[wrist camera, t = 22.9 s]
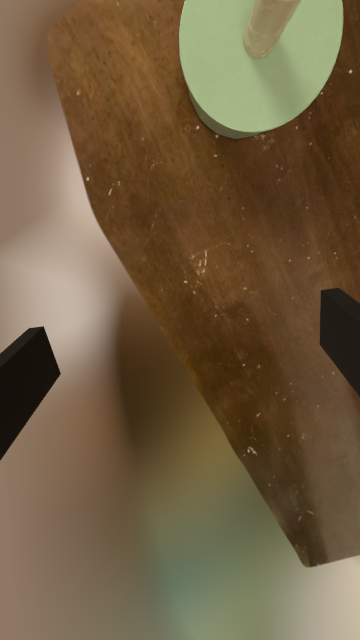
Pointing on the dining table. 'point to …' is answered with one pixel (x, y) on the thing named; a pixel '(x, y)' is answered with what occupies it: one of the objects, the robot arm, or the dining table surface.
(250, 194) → the dining table surface
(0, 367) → the robot arm
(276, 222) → the dining table surface
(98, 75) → the dining table surface
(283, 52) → the tin lid
